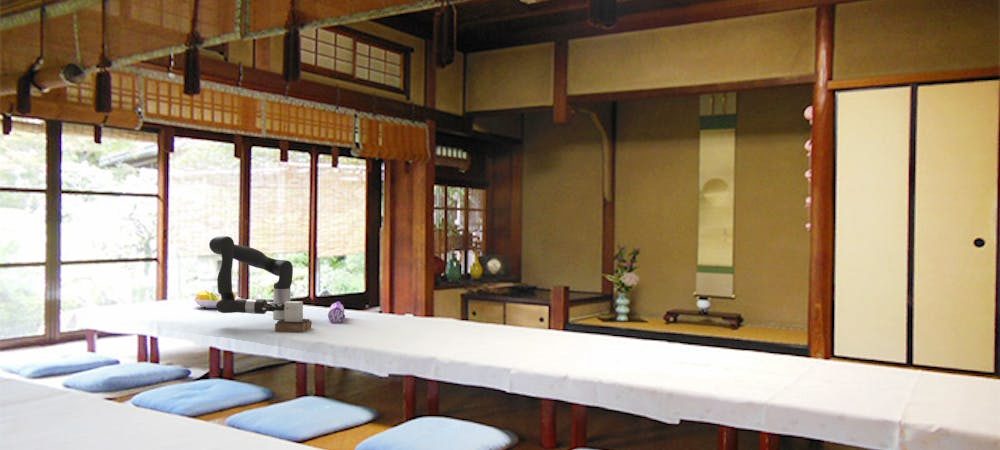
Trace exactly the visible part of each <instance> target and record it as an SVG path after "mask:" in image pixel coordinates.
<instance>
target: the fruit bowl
mask: <svg viewBox="0 0 1000 450" xmlns="http://www.w3.org/2000/svg"><path fill="white" fill-rule="evenodd" d="M232 292H233V295H234V299H235V300H240V299H241V296H240V297H239V296H236V293H235V292H234V291H233V290H232ZM193 300H194V301H195V303H196V304H197V305H198V306H200V307H202V308H204V307H206V308H205V309H211V308H216V304H217V302H218V301H220V300H222V297H221V295H216V294H214V293H213V291H211V292H209V291H207V290H201V291H199V292H198V293H197V294H196V296H195V297H194V298H193Z"/></svg>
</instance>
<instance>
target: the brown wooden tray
mask: <svg viewBox="0 0 1000 450" xmlns="http://www.w3.org/2000/svg"><path fill="white" fill-rule="evenodd" d="M274 325H275V326H274V333H299V332H302V333H304V332H307V331H309V330H310V329H312V320H310V318H303V321H302V322H289V321H284V319H279V321H277V322H276V323H274Z"/></svg>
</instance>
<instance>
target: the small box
mask: <svg viewBox="0 0 1000 450" xmlns="http://www.w3.org/2000/svg"><path fill="white" fill-rule="evenodd" d="M303 309H304V301H297V300H295V301H294V300H293V301H292V300H290V301H288V302H285V309H284V321H289V322H302V321H303V319H304V317H303V316H304V310H303Z"/></svg>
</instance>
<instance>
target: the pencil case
mask: <svg viewBox="0 0 1000 450" xmlns="http://www.w3.org/2000/svg"><path fill="white" fill-rule="evenodd" d="M327 316H328V321H329V322H330V323H332V324H340V323H342V322H343V320H344V319H345V318H346V315H345V308H344V305H343V304H342V303H341V301H336V302H334V303H331V305H330V306H329V310H328V314H327Z"/></svg>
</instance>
